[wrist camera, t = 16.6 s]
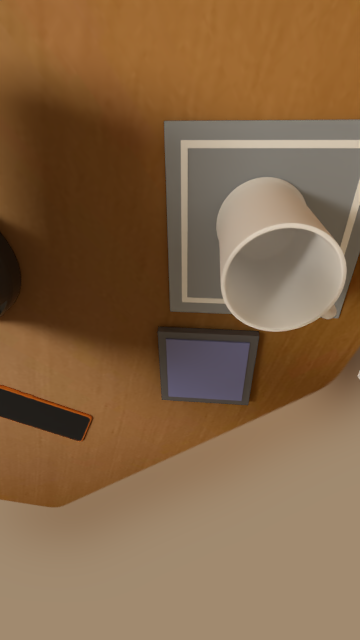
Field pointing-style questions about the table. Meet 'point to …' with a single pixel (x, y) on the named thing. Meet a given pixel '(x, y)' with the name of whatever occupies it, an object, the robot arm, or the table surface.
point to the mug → (276, 257)
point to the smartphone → (43, 414)
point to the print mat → (241, 166)
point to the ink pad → (207, 364)
